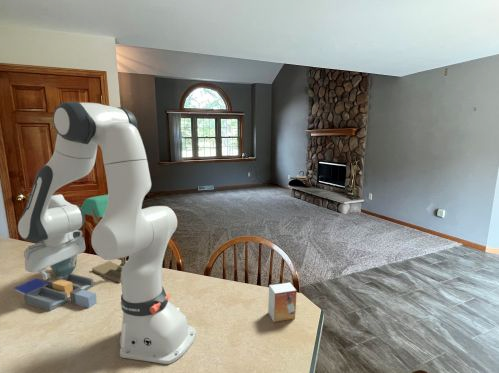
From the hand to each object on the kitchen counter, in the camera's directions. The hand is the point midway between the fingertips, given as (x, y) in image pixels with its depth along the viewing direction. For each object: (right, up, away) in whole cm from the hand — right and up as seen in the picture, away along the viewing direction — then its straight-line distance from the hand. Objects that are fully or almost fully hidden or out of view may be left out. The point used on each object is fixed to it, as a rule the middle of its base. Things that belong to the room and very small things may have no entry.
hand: (59, 272), depth 101 cm
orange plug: (-1, -8, +2) cm, 8 cm away
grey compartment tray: (-1, -9, +2) cm, 9 cm away
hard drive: (-14, -9, +5) cm, 17 cm away
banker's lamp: (+11, -6, +19) cm, 23 cm away
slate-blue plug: (+11, -10, -3) cm, 15 cm away
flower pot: (-11, -6, +18) cm, 22 cm away
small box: (+82, -12, -9) cm, 84 cm away
